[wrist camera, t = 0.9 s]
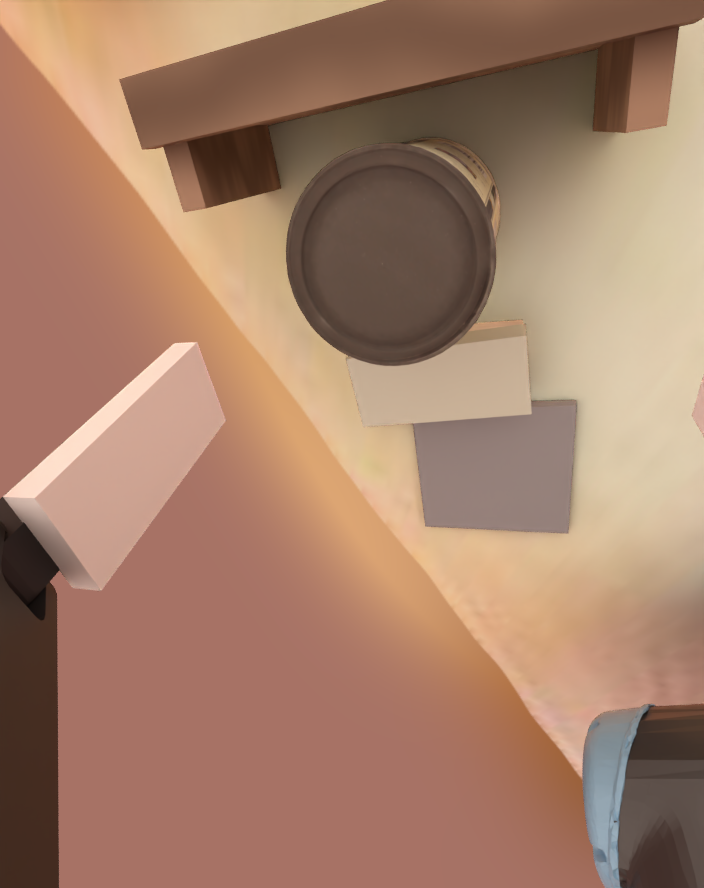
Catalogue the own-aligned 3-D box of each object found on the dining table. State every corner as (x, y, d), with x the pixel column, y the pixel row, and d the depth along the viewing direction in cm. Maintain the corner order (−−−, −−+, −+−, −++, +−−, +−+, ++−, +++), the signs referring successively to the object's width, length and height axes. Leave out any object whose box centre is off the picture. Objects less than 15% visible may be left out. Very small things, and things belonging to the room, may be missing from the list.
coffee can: (351, 283, 39) (284, 348, 28) (364, 129, 33) (285, 130, 22) (482, 305, 37) (468, 384, 26) (519, 146, 31) (523, 157, 20)
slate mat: (567, 526, 45) (568, 533, 45) (426, 519, 50) (425, 526, 49) (575, 399, 39) (576, 405, 38) (413, 404, 43) (411, 409, 42)
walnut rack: (629, 124, 29) (688, 122, 19) (257, 193, 37) (164, 216, 27) (643, -14, 26) (721, -99, 16) (233, 93, 34) (119, 79, 24)
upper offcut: (530, 398, 38) (531, 414, 36) (370, 412, 42) (363, 427, 40) (525, 323, 35) (526, 335, 33) (354, 347, 40) (345, 359, 38)
